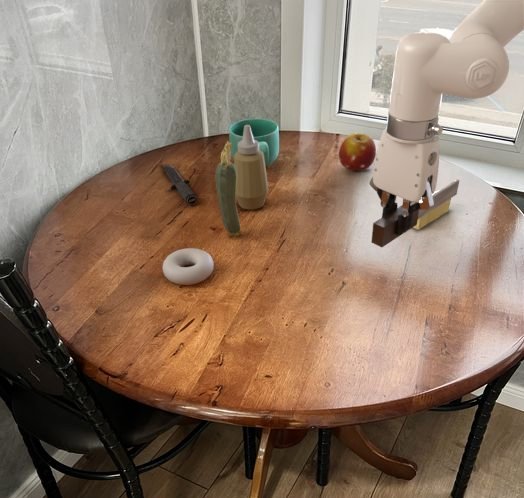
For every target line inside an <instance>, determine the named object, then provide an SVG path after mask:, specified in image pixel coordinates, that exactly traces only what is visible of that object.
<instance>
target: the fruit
mask: <svg viewBox="0 0 524 498" xmlns="http://www.w3.org/2000/svg"><path fill="white" fill-rule="evenodd" d="M376 146H377V145H376V143H375V140H374V139H373V138H372V137H371V136H370V135H368V134H366V133H361V132H354V133H351V134H349V135H348V136H347V137H346V138H344V140H343V141H342V143H341V144H340V146H339V149H338V159H339V162H340V164H341V166H342V167H344V169H347V170H350V171H354V172H361V171H365V170H367V169H368V168H370V167H371V166H372V164H373V163H374V162H375V158H376V153H377V147H376Z"/></svg>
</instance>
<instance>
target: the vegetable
mask: <svg viewBox="0 0 524 498" xmlns="http://www.w3.org/2000/svg"><path fill="white" fill-rule="evenodd" d="M231 147H232V143H231V142H230V140H227V141H226V143H225V144H224V146H223V148H222V151H221V153H220V162H219V163H217V166H216V169H215V173H214V174H215V188H216V194H217V202H218V206H219V211H220V217H221V221H222V224H223V226H224V229H225V230H226V232H228V233H229V234H231V235H233V236H236V237H239V235H240V234H241V233H242V232H241V222H240V218H239V213H238V212H239V211H238V208H237V204H236V196H235V192H236V182H237V171H236V167H235V165H234V162H232V161H230V160H231V158H232V155H231V149H230V148H231Z"/></svg>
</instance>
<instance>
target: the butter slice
mask: <svg viewBox="0 0 524 498" xmlns="http://www.w3.org/2000/svg"><path fill="white" fill-rule="evenodd" d="M428 215H429V213H427V214H426V215H424V216H423V217H421V218H420V219H418V220H417V225H416V226H414V227H413V228H412V229H415V230H418V231H419V230H420V229H422V228H424V227H426V226H427V225H428V224H427V220H428Z"/></svg>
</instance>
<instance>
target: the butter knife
mask: <svg viewBox="0 0 524 498" xmlns="http://www.w3.org/2000/svg"><path fill="white" fill-rule="evenodd" d="M460 181H461V180H460V179H455V180H453V181H452V182H450V183H449V184H447V185H445V186H444V187H443V188H441V189H439V190H437V192H436V193H435V194H433V195H432V196H433V201H434V206H433V207H431V208H430V209H427V210H417V211H415V212H413V216H412V222H411V227H410V229H409V230H408V231H410V230H411V229H414V228H413V227H414V226H416V225H417V220H418V219H420V218H421V217H423V216H424V215H426V214H427V213H429V212H430V211H432V210H433V209H435V208H437V207H438V206H440V205H441V204H443V203H444V202H446V201H447V200H449V199H450V198H451V199H452V198H454V197H455V196H457V195H458V189H459V185H460ZM402 205H403V204H401V205H400V206H398V207H397V209H395V210H393V211H392V212H390V213H389V214H387V215H385V216H384V217H382V216H381V218H379V219H377V220H376V221H374V222H373V223H372V232H371V244H374V245H375V246H377V247H379V248H384V247H385V246H386V245H387V246H388V244H390V243H392V242H393V241H395V240H396V239H397V238H399V237H400V236H397V235H396V227H397V221H398V215H400V214H401V213H402ZM404 234H405V233H403V234H402V235H404Z"/></svg>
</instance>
